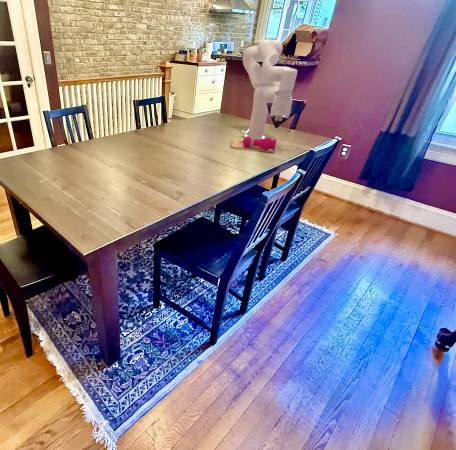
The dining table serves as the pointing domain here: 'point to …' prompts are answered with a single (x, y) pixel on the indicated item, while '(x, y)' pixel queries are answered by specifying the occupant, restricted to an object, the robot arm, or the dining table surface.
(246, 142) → the pepper mill
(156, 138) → the dining table surface
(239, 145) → the cork mat
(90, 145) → the dining table surface
